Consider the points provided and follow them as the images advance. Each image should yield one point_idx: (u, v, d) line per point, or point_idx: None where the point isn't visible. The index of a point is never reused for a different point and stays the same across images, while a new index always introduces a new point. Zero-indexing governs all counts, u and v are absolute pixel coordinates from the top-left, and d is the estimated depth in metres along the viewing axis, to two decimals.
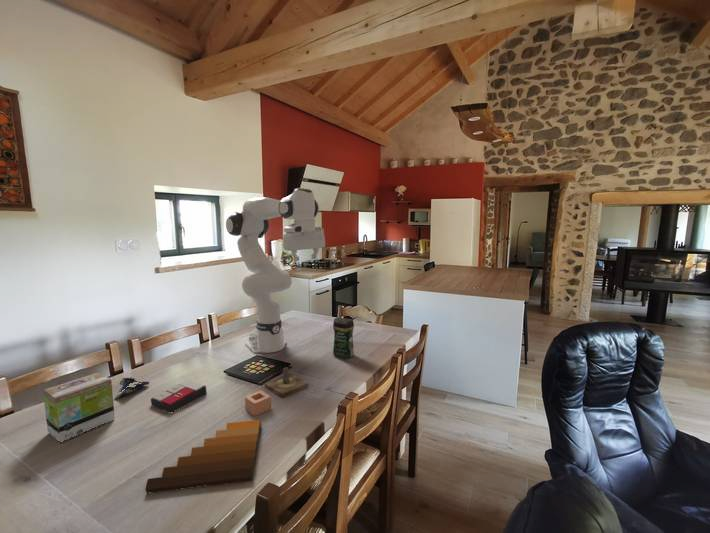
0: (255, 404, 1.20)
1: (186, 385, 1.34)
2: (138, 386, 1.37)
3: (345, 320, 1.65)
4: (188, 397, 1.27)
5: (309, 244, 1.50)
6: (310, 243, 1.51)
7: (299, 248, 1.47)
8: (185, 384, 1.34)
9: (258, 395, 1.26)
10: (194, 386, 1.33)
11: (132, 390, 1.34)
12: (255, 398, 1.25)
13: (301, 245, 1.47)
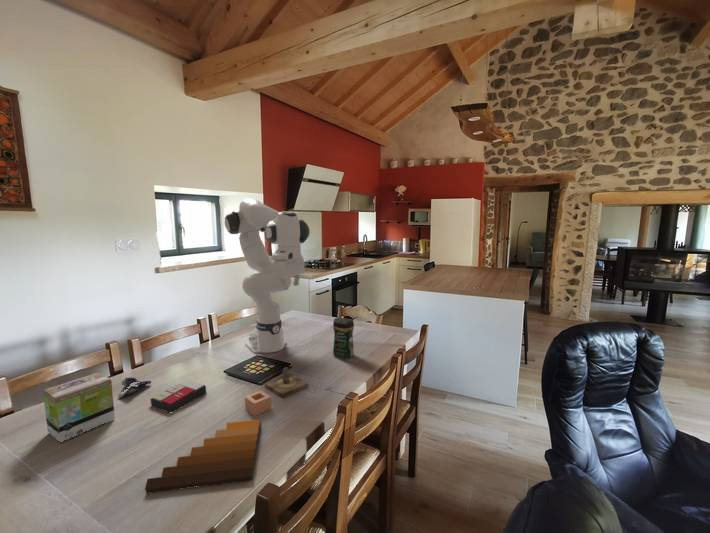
0: (255, 404, 1.20)
1: (185, 385, 1.34)
2: (141, 385, 1.37)
3: (345, 320, 1.65)
4: (188, 397, 1.28)
5: (295, 270, 1.41)
6: (296, 270, 1.42)
7: (289, 276, 1.36)
8: (184, 384, 1.35)
9: (258, 395, 1.26)
10: (194, 386, 1.33)
11: (136, 389, 1.35)
12: (255, 398, 1.25)
13: (290, 272, 1.37)
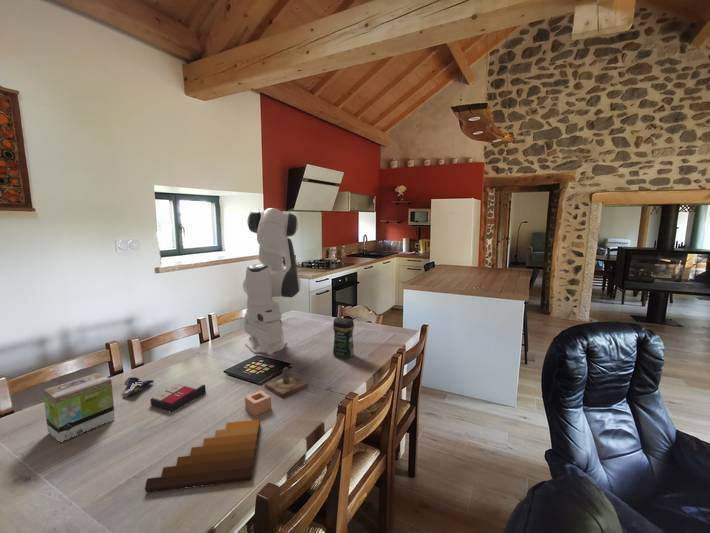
0: (255, 404, 1.20)
1: (185, 384, 1.34)
2: (144, 385, 1.38)
3: (345, 320, 1.65)
4: (188, 396, 1.28)
5: None
6: None
7: None
8: (184, 384, 1.35)
9: (258, 395, 1.26)
10: (193, 385, 1.34)
11: (140, 388, 1.35)
12: (255, 398, 1.25)
13: None
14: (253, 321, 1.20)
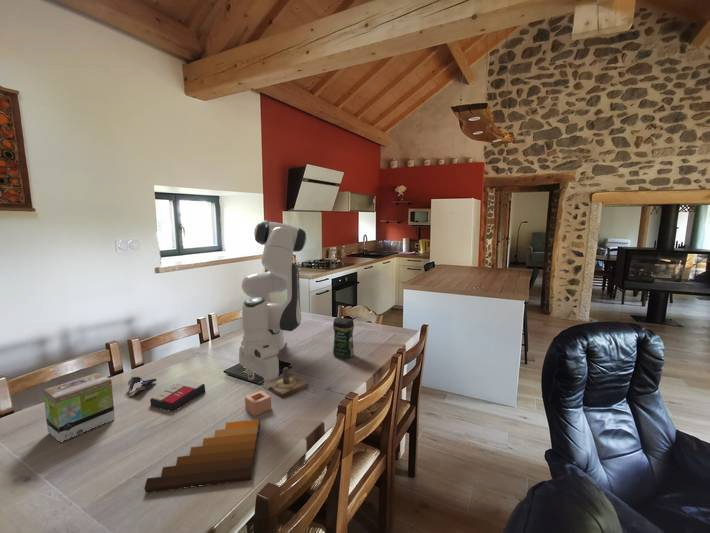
0: (255, 404, 1.20)
1: (184, 384, 1.35)
2: (148, 383, 1.39)
3: (345, 320, 1.65)
4: (189, 395, 1.28)
5: None
6: None
7: None
8: (183, 384, 1.35)
9: (258, 395, 1.26)
10: (193, 385, 1.34)
11: (145, 387, 1.36)
12: (255, 398, 1.25)
13: None
14: (249, 356, 1.19)
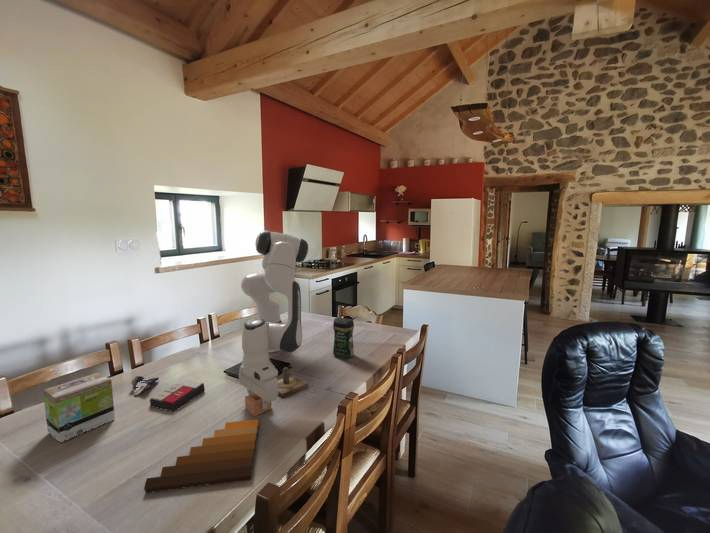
0: (255, 404, 1.20)
1: (183, 384, 1.35)
2: (152, 382, 1.40)
3: (345, 320, 1.65)
4: (189, 395, 1.29)
5: None
6: None
7: None
8: (182, 383, 1.35)
9: None
10: (192, 384, 1.34)
11: (150, 385, 1.38)
12: (255, 398, 1.25)
13: None
14: (249, 377, 1.20)
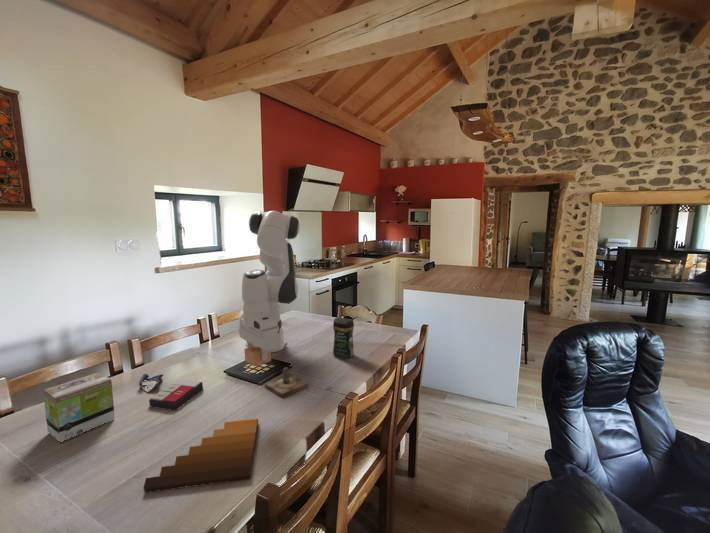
0: (255, 355, 1.19)
1: (181, 383, 1.35)
2: (159, 378, 1.43)
3: (345, 320, 1.65)
4: (189, 394, 1.30)
5: None
6: None
7: None
8: (180, 383, 1.36)
9: (258, 348, 1.25)
10: (191, 383, 1.35)
11: None
12: (255, 351, 1.25)
13: None
14: (249, 327, 1.19)
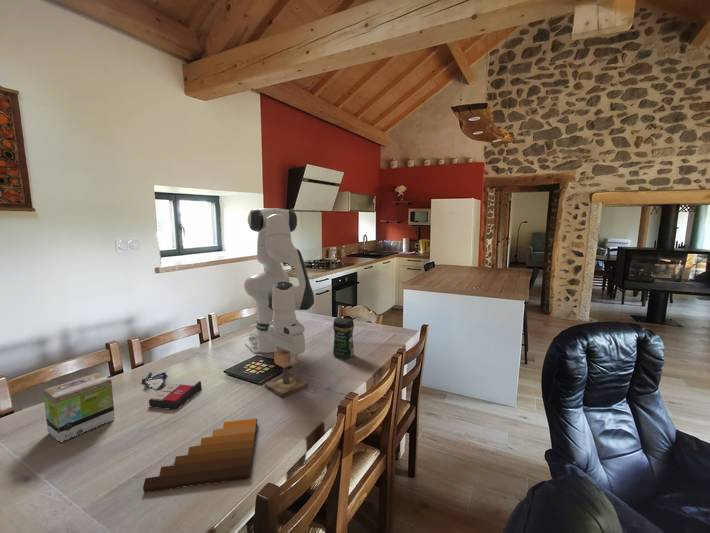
0: (284, 357, 1.34)
1: (180, 383, 1.35)
2: None
3: (345, 320, 1.65)
4: (189, 393, 1.30)
5: None
6: None
7: None
8: (178, 383, 1.36)
9: (285, 351, 1.40)
10: (189, 383, 1.36)
11: None
12: (283, 354, 1.39)
13: None
14: (278, 333, 1.34)
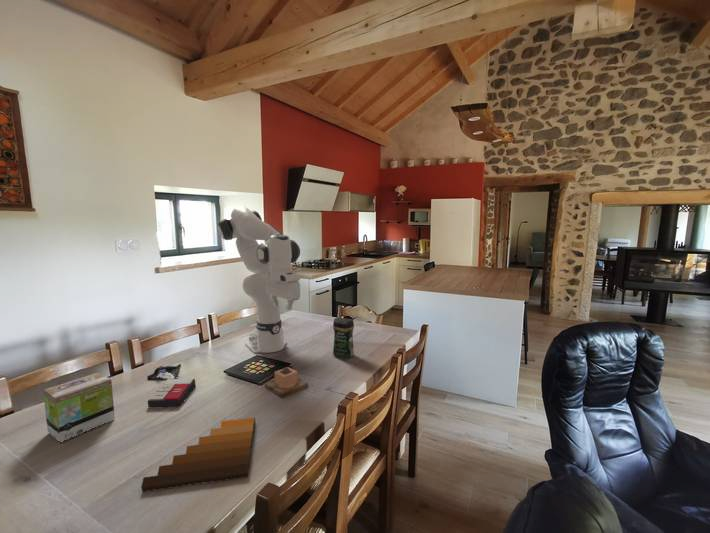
0: (284, 378, 1.35)
1: (174, 383, 1.36)
2: None
3: (345, 320, 1.65)
4: (187, 390, 1.32)
5: None
6: None
7: None
8: (171, 383, 1.36)
9: None
10: (184, 381, 1.37)
11: None
12: None
13: None
14: (275, 282, 1.43)
